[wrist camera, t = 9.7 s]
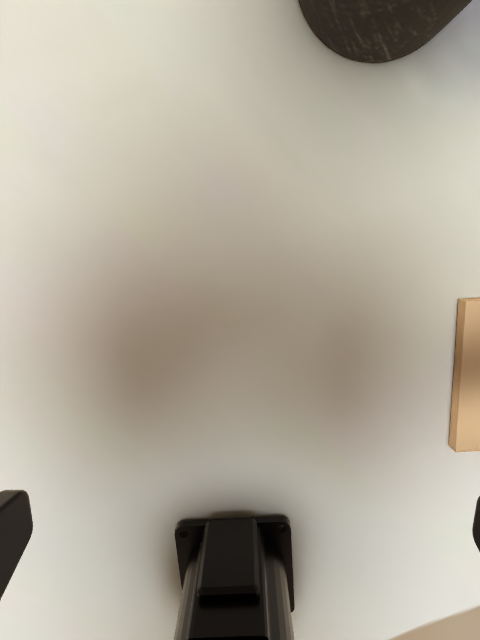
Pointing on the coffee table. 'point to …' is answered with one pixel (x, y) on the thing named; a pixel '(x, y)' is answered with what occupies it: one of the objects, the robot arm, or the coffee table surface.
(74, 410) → the coffee table surface
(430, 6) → the travel mug
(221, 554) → the robot arm
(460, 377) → the cork pad
